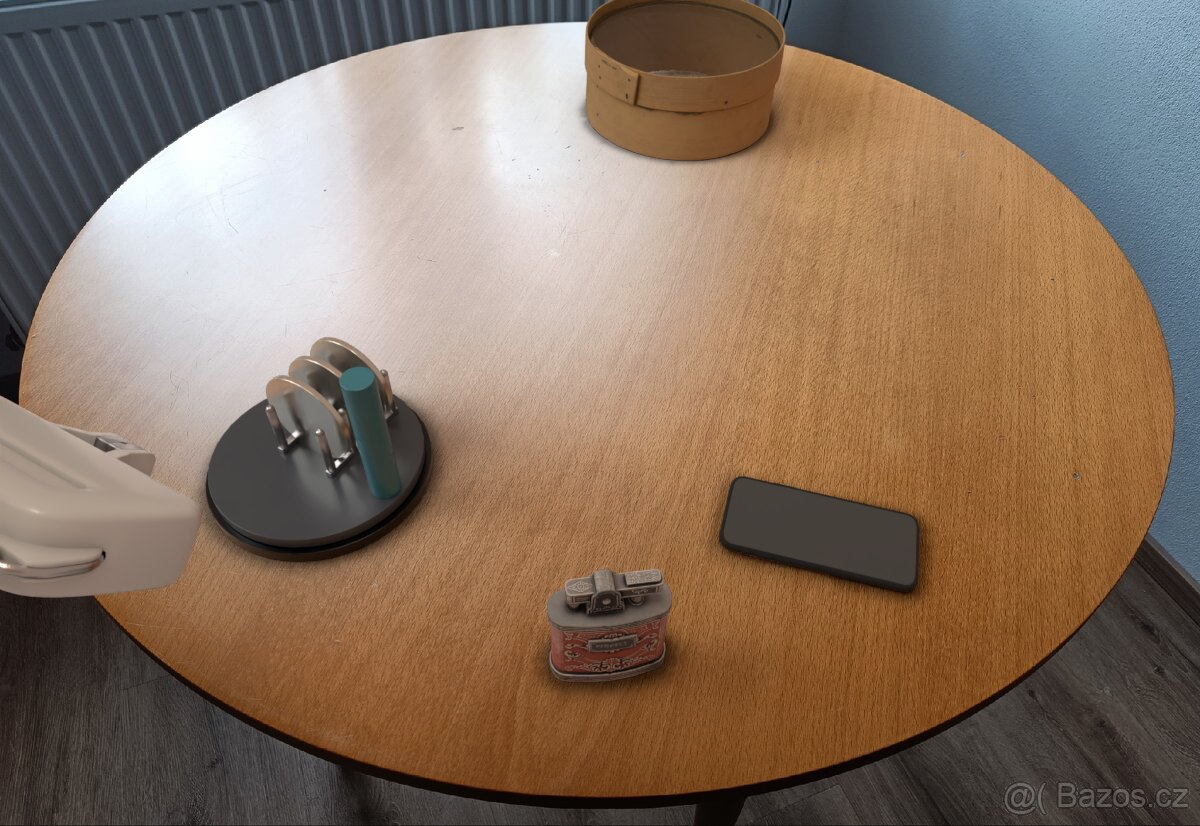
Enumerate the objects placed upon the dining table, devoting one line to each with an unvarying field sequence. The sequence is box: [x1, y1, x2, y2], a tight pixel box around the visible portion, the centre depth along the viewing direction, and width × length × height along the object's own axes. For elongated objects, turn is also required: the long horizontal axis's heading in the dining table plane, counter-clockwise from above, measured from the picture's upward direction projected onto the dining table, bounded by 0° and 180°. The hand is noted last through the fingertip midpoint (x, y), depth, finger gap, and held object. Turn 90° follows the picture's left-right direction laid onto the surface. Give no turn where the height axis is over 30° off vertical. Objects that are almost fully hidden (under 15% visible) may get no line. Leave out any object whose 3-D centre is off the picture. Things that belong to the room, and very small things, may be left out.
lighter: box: [546, 568, 673, 683], centre depth 56 cm, size 8×3×10 cm, turn 99°
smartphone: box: [718, 475, 920, 593], centre depth 67 cm, size 7×1×15 cm
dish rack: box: [207, 336, 425, 548], centre depth 66 cm, size 17×17×13 cm
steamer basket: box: [584, 0, 787, 161], centre depth 110 cm, size 25×25×11 cm
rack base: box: [205, 408, 434, 562], centre depth 71 cm, size 18×18×1 cm
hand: (133, 458), depth 44 cm, fingers closed
